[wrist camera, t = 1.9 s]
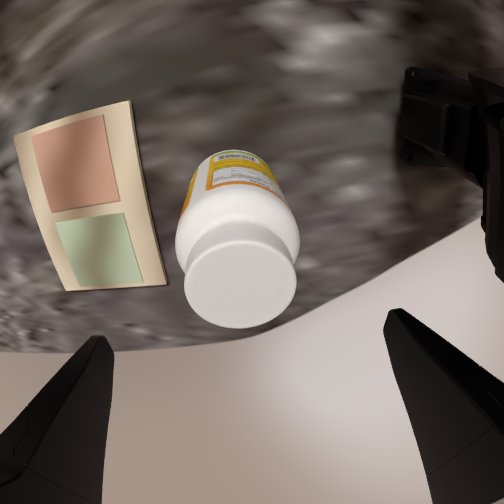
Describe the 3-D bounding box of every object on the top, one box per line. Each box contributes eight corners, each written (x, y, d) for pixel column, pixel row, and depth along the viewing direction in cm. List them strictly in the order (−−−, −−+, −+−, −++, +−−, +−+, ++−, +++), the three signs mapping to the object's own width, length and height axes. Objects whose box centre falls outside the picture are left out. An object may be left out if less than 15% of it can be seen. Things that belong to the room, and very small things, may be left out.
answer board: (131, 100, 15) (127, 100, 14) (167, 280, 22) (166, 285, 21) (17, 134, 15) (12, 136, 14) (68, 286, 22) (65, 291, 21)
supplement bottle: (226, 242, 21) (229, 358, 13) (172, 184, 18) (132, 282, 10) (292, 196, 19) (341, 296, 11) (241, 130, 17) (258, 187, 9)
